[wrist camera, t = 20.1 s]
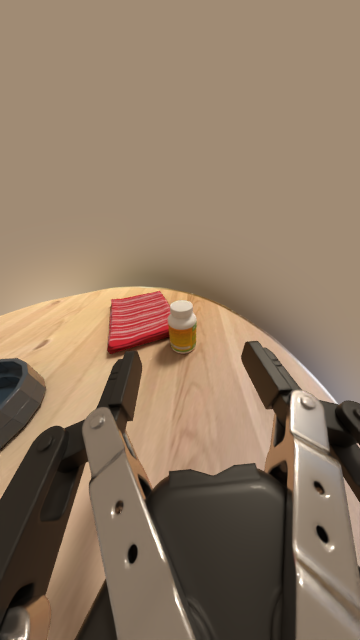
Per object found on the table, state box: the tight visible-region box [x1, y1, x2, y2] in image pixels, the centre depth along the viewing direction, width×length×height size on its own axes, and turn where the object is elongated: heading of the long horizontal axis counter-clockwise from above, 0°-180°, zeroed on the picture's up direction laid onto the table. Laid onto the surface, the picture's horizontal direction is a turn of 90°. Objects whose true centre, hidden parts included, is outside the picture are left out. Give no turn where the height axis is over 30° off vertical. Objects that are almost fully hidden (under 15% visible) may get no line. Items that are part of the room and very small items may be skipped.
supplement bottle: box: [168, 300, 196, 354], centre depth 27 cm, size 5×5×10 cm
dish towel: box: [107, 291, 171, 354], centre depth 39 cm, size 17×24×3 cm
